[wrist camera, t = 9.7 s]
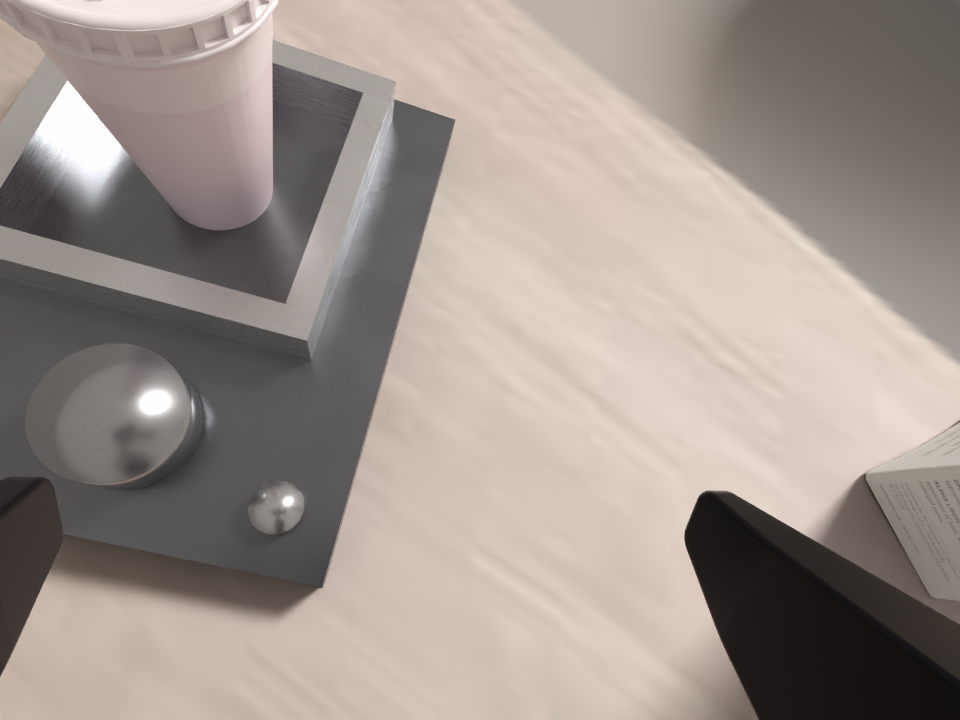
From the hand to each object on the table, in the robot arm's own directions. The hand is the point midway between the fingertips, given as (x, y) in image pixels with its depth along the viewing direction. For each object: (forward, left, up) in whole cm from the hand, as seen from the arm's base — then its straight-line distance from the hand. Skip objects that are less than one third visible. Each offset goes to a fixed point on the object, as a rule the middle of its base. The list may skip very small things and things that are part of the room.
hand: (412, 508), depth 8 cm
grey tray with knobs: (+7, +8, -12) cm, 17 cm away
